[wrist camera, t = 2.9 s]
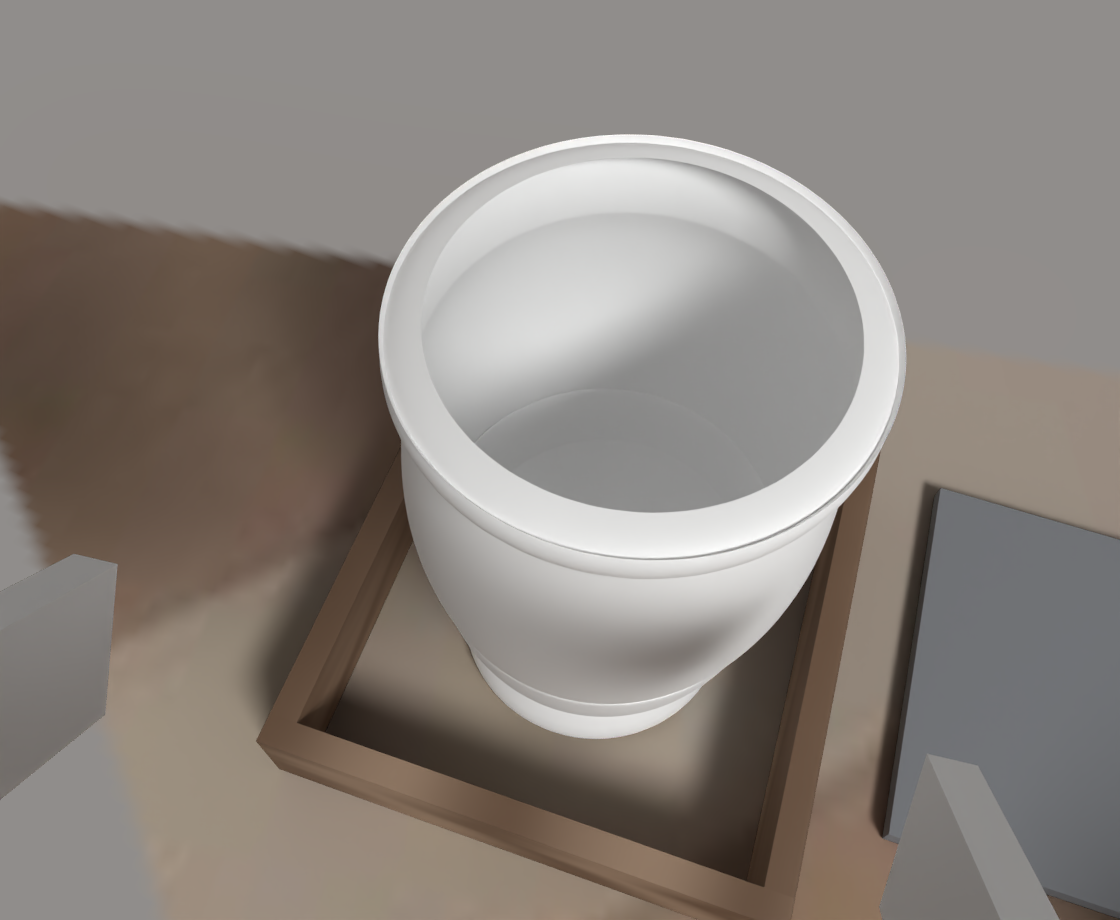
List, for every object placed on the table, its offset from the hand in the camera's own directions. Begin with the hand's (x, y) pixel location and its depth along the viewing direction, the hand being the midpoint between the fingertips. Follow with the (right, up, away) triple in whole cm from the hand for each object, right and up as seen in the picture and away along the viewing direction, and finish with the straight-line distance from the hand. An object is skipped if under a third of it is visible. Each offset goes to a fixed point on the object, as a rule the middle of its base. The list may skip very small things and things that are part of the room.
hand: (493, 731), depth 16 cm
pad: (+18, -4, +15) cm, 24 cm away
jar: (+2, -1, +17) cm, 17 cm away
